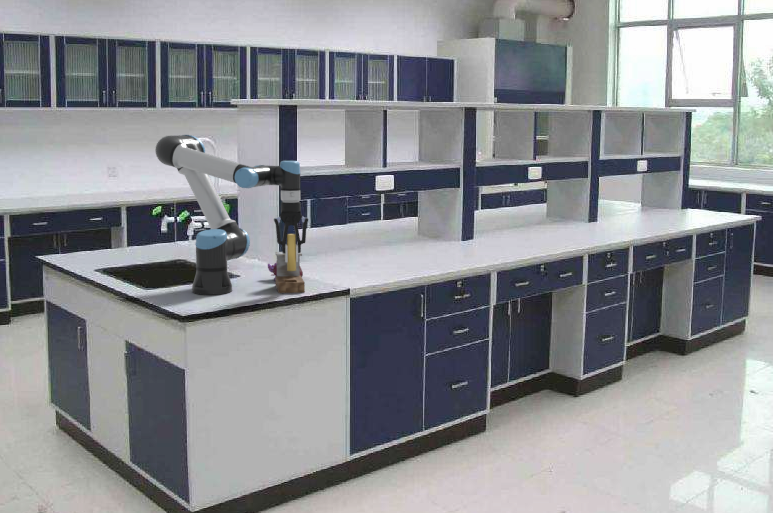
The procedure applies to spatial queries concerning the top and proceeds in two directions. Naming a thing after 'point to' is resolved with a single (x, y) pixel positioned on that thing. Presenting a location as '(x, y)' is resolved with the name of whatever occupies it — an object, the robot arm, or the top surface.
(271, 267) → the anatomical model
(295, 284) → the peg socket stand
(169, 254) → the top surface
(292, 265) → the peg
